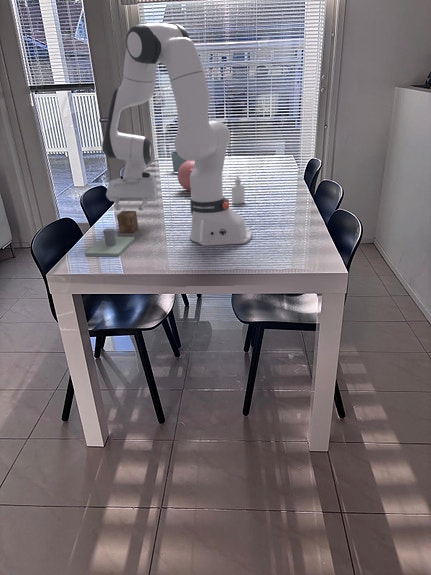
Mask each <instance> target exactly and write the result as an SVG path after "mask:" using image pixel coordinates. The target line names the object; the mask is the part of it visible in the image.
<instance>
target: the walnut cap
mask: <svg viewBox="0 0 431 575" xmlns="http://www.w3.org/2000/svg"><path fill="white" fill-rule="evenodd" d="M116 218H117V224H118V230H119V233H121V234H134V233H136V231H137V230H138V229H139V224H138V215H137V211H136V210H120V212H118V214H117V215H116Z"/></svg>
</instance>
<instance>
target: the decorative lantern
mask: <svg viewBox="0 0 431 575" xmlns="http://www.w3.org/2000/svg"><path fill="white" fill-rule="evenodd" d="M194 163H195V161H188V160H187V161H186V162H184V163H183V164H182V165H181V166H180V168H179V170H178V174H177V180H178V183H179V185H180V187H181V188H182V189H184V190H186V191H188V192H191V187H190V175H191V172H192V170H193V168H194Z"/></svg>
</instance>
